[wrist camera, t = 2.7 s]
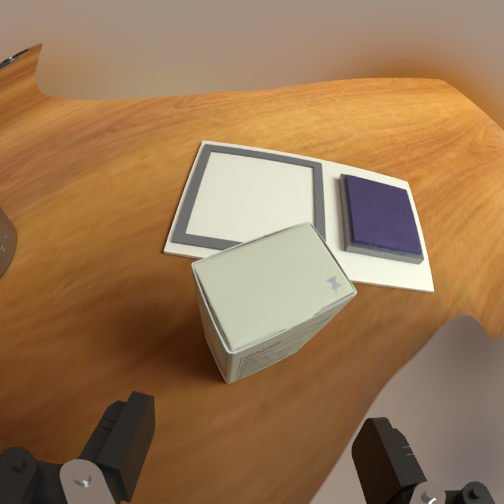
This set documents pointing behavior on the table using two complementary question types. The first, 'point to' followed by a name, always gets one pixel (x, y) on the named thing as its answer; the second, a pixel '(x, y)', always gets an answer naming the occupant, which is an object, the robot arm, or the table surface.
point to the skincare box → (268, 297)
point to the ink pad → (378, 220)
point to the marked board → (278, 209)
